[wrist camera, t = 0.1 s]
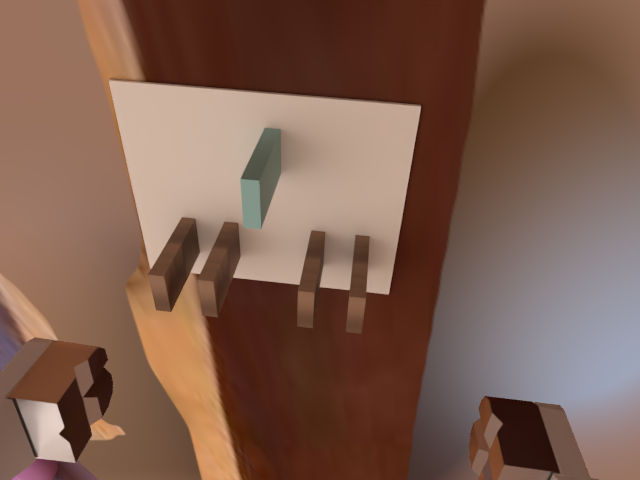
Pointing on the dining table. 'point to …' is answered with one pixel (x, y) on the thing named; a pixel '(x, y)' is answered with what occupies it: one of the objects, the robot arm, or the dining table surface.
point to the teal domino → (261, 178)
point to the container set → (39, 470)
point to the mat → (294, 183)
